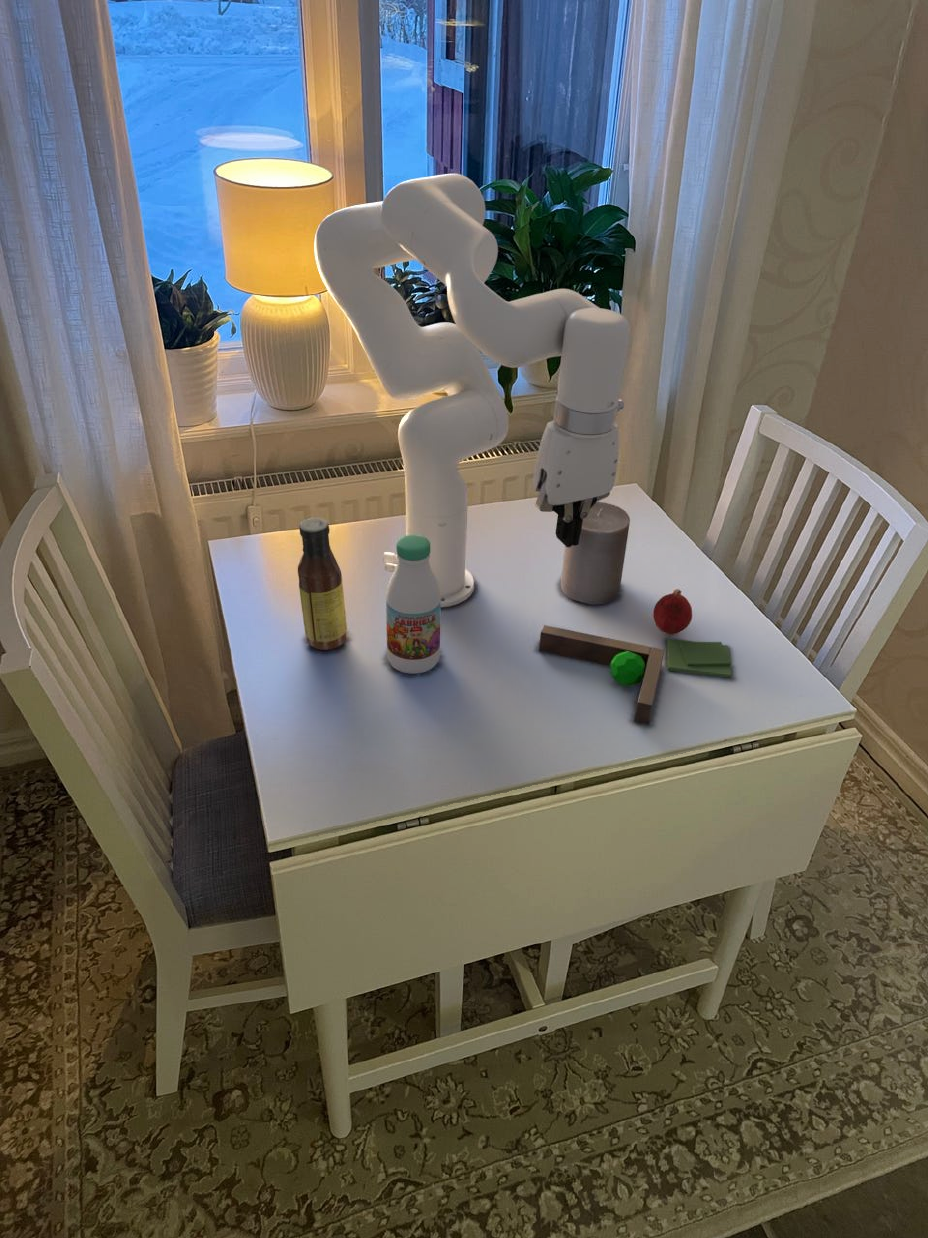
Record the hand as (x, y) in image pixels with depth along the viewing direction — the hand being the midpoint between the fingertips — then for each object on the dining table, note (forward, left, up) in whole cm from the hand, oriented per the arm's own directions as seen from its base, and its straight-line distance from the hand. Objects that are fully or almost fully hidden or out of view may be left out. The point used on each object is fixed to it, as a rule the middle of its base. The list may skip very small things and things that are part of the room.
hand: (566, 540), depth 125 cm
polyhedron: (+11, -1, -21) cm, 24 cm away
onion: (+15, +13, -21) cm, 29 cm away
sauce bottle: (-34, -6, -21) cm, 40 cm away
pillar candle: (+1, +21, -21) cm, 30 cm away
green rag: (+20, +8, -21) cm, 30 cm away
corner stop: (+6, -3, -21) cm, 22 cm away
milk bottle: (-20, -6, -21) cm, 29 cm away
